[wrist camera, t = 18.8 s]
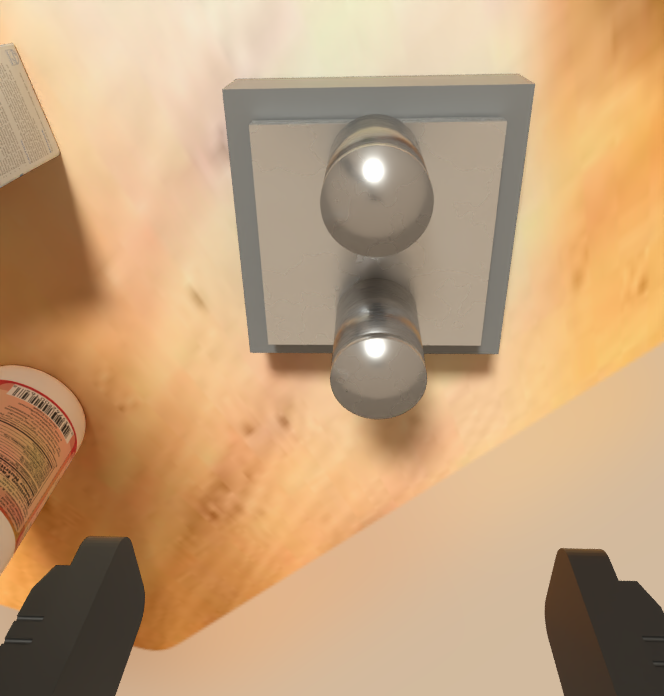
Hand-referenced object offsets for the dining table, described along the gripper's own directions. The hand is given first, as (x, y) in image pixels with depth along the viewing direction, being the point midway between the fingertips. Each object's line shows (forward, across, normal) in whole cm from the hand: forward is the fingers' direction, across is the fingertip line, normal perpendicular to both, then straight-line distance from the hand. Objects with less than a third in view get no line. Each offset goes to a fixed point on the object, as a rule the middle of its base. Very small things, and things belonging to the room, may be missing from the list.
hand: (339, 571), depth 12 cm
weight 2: (+25, -1, +7) cm, 26 cm away
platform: (+26, -1, +3) cm, 26 cm away
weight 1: (+25, -1, -2) cm, 25 cm away
